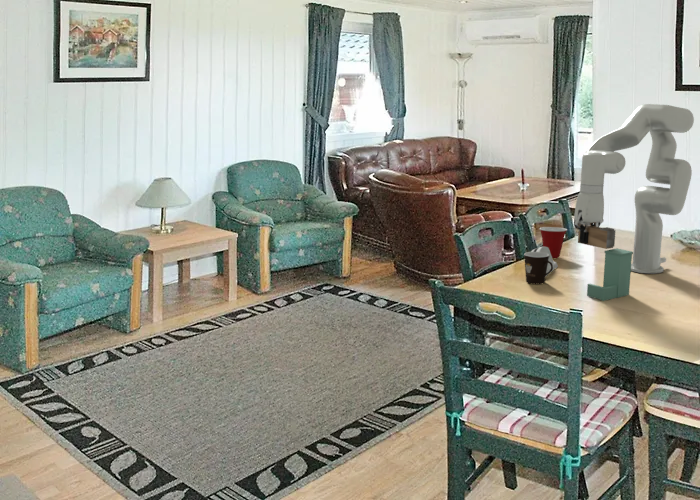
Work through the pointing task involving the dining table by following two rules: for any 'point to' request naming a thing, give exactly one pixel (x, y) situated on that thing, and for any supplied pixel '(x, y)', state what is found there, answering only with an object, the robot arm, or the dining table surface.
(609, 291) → the headboard post
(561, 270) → the dining table surface
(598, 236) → the brown wooden block
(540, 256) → the coffee mug
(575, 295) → the dining table surface
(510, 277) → the dining table surface
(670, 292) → the dining table surface
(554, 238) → the plastic cup
